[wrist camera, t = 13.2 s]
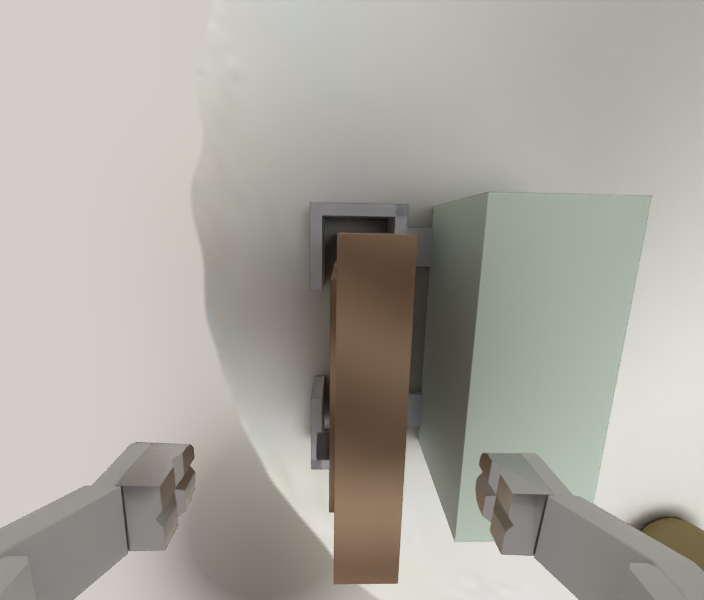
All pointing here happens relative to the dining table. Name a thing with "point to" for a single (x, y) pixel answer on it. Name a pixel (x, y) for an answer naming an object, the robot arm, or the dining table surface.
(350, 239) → the brown wooden block
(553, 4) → the dining table surface
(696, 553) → the squeeze bottle
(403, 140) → the dining table surface
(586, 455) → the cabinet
